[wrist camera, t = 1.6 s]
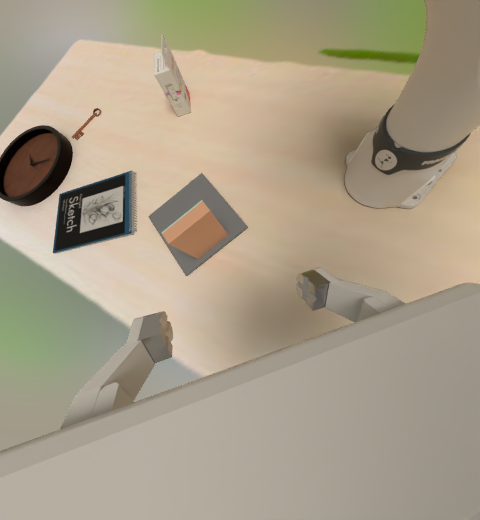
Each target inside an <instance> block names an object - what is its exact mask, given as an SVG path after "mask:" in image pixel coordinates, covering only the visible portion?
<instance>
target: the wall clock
mask: <svg viewBox="0 0 480 520" xmlns="http://www.w3.org/2000/svg"><path fill="white" fill-rule="evenodd" d="M72 156H73V151H72V146H71V143H70V141H69V140H68V139H67V138H66V137H65V136H63V135H62V134H61V133H59V132H58V131H57V130H56V129H54V128H52V127H50V126H36V127H33V128H31V129H29V130H27V131H25V132H23V133H22V134H20V135H19V136H18V137H17V138H16V139H14V140H13V141H12V142H11V143H10V145H9V146H8V147H7V148H6V149H5V151H4V152H3V154H2V155H1V157H0V198H1V199H3V200H6V201H9V202H11V203H14V204H17V205H20V206H31V205H34V204H37V203H39V202H41V201H43V200H45V199H46V198H47V197H49V196H50V195H51V194H52V193H53V192H54V191H55V190H56V189H57V188H58V187H59V186H60V185H61V183H62V182H63V180H64V179H65V177H66V175H67V173H68V171H69V169H70V166H71V162H72Z"/></svg>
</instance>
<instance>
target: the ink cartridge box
mask: <svg viewBox="0 0 480 520" xmlns="http://www.w3.org/2000/svg"><path fill="white" fill-rule="evenodd" d="M161 48H162V51H161V52H158V53H156V54H154V75H155V77H156V79H157V80H158V82H159V84H160V86H161V87H162V89H163V91H164V93H165V95H166V96H167V98H168V100H169V102H170V103H171V105H172V107H173V109H174V110H175V112H176V114H177V116H178V117H179V116H182V115H185V114H187V113H190V112H191V108H190V97H189V92H188V89H187V87H186V85H185V82H184V80H183V78H182V76H181V73H180V71H179V69H178V66H177V64H176V62H175V60H174V57H173V55H172V53H171V50H170V48H169V46H168V44H167V42H166V41H165V38H164V36H163V35H162V34H161ZM164 48H166V49H164Z"/></svg>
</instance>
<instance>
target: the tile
mask: <svg viewBox="0 0 480 520" xmlns="http://www.w3.org/2000/svg"><path fill="white" fill-rule="evenodd" d="M162 235H163V236H164V238H165V239H166V241H167V242H168V244H169V245H171V246H173V247H175V248H177V249H179V250H181V251H183V252H185V253H187V254H189V255H191V256H193V257H195V258H197V259H199V258H200V257H202V256H203V255H204V254H205V253H207V252H208V251H209V250H210V249H212V248H213V247H214V246H215V245H217V244H218V243H219V242H220V241H222V240H223V239H224V238H225V237H227V236H228V233H227V232H226V231H225V229H224V228H223V227H222V225H221V224H220V223H219V221H218V220H217V219H216V218H215V216H214V215H213V214H212V212H211V211H210V210H209V208H208V207H207V206H206V205H205V203H204V202H203V201H202V200H201V201H200V202H199V203H197V204H196V205H195V206H194V207H192V208H191V209H190V210H189V211H188V212H186V213H185V214H184V215H183V216H181V217H180V218H179V219H178V220H176V221H175V222H174V223H173V224H171V225H170V226H169V227H168V228H167V229H165V230H164V231H163V232H162Z"/></svg>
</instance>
